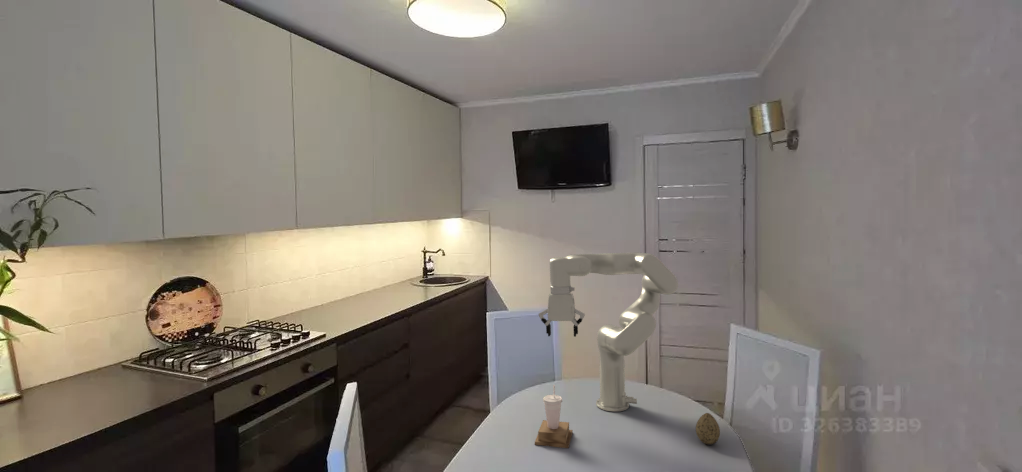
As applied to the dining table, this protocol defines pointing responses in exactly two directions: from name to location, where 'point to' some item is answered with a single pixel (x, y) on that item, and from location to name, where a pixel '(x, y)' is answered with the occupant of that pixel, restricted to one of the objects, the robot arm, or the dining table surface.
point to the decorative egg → (707, 429)
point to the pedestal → (554, 435)
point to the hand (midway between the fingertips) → (562, 335)
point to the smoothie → (552, 409)
